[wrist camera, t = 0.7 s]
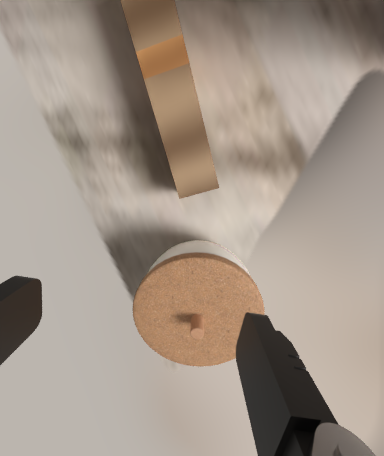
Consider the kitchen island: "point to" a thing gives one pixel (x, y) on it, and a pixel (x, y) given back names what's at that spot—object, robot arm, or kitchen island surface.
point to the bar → (172, 92)
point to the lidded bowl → (195, 303)
